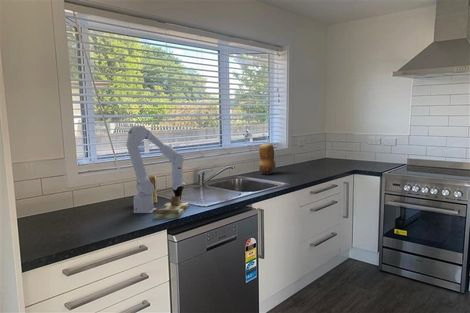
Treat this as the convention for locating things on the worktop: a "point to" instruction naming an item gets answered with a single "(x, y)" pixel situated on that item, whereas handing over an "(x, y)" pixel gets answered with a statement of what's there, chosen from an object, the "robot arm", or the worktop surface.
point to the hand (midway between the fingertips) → (178, 200)
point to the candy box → (153, 181)
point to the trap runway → (171, 211)
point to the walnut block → (175, 201)
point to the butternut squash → (266, 158)
